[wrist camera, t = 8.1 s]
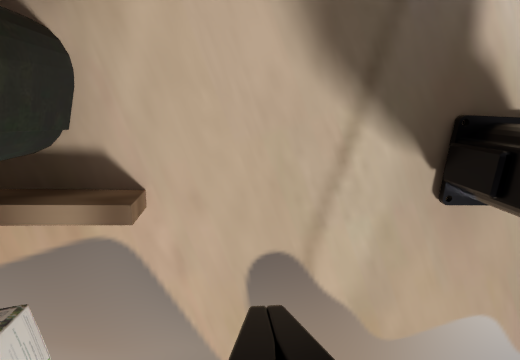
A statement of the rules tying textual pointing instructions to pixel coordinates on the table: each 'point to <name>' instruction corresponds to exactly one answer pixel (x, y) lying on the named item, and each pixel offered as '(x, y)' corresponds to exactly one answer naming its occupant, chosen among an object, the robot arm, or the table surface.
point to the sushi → (32, 86)
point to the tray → (70, 206)
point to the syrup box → (20, 335)
